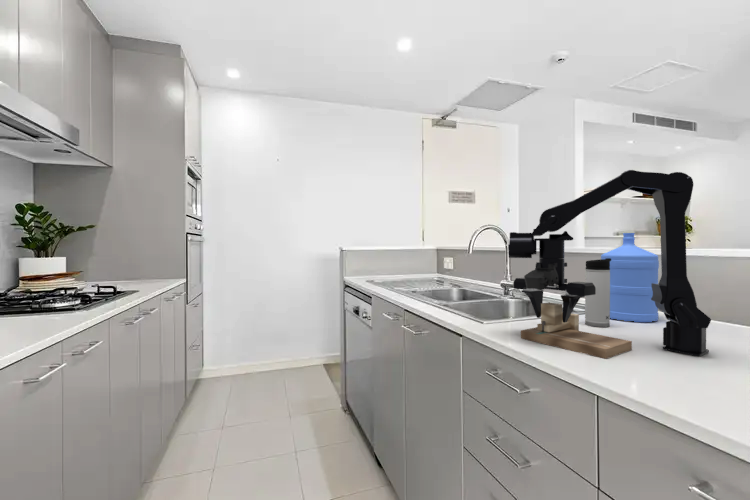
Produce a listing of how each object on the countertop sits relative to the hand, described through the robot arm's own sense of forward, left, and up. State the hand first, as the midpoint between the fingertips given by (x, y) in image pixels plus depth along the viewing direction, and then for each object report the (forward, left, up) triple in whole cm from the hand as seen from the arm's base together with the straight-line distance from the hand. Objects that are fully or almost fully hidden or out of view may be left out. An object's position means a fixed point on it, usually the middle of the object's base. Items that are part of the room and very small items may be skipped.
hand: (551, 319), depth 91 cm
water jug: (+2, -47, -5) cm, 47 cm away
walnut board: (-5, 0, -5) cm, 7 cm away
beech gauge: (0, -2, -4) cm, 5 cm away
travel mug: (+2, -27, -5) cm, 28 cm away
